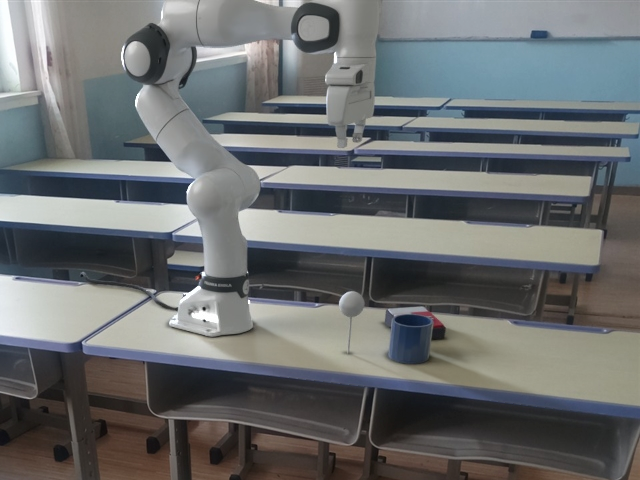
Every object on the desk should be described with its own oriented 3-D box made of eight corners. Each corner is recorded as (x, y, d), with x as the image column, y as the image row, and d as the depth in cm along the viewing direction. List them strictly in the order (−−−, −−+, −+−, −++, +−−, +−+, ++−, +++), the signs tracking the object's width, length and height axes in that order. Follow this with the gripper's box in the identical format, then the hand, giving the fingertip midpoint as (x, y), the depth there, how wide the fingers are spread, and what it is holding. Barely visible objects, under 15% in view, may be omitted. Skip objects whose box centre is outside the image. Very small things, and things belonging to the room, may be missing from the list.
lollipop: (349, 347, 200) (354, 286, 192) (365, 354, 196) (370, 292, 188) (330, 352, 197) (334, 291, 189) (346, 359, 193) (350, 297, 185)
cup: (383, 360, 192) (387, 323, 187) (395, 347, 200) (398, 311, 195) (422, 366, 189) (427, 329, 184) (433, 353, 196) (437, 317, 191)
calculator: (406, 327, 201) (385, 306, 213) (403, 343, 203) (383, 322, 215) (447, 324, 202) (424, 304, 214) (444, 340, 205) (422, 319, 217)
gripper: (356, 69, 178) (352, 138, 186) (322, 75, 163) (319, 149, 170) (384, 70, 176) (378, 139, 183) (351, 76, 160) (347, 151, 168)
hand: (349, 144), depth 177 cm, fingers open, 8 cm apart
